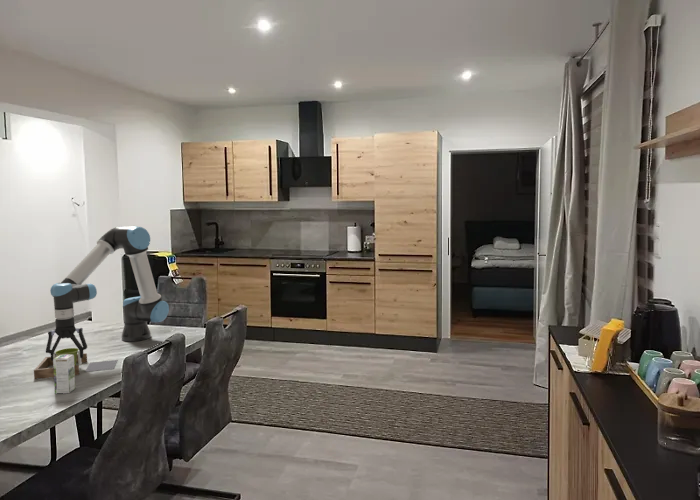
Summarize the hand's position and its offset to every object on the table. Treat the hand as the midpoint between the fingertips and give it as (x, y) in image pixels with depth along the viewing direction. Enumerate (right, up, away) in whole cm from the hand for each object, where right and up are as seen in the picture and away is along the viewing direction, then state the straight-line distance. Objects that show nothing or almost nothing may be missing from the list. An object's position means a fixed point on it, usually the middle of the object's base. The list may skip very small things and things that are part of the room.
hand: (68, 365), depth 239 cm
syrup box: (+14, -4, -28) cm, 31 cm away
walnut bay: (-2, -2, -1) cm, 3 cm away
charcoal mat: (+13, -1, +4) cm, 14 cm away
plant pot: (0, -2, 0) cm, 2 cm away
